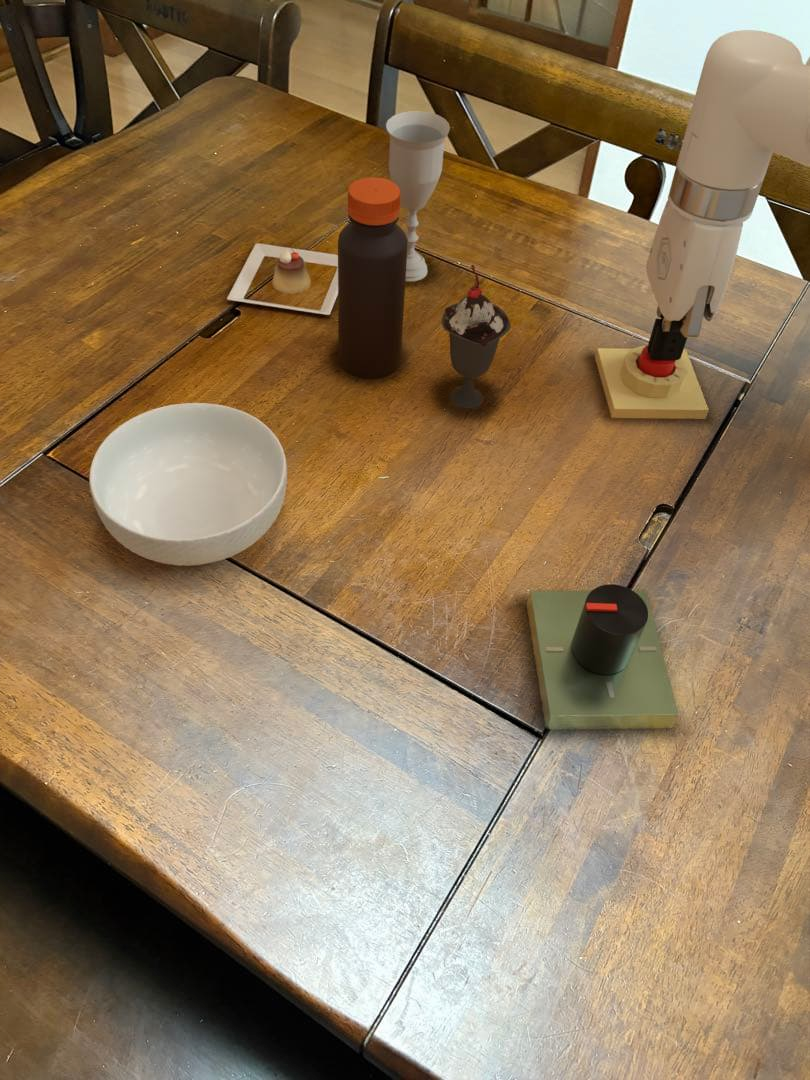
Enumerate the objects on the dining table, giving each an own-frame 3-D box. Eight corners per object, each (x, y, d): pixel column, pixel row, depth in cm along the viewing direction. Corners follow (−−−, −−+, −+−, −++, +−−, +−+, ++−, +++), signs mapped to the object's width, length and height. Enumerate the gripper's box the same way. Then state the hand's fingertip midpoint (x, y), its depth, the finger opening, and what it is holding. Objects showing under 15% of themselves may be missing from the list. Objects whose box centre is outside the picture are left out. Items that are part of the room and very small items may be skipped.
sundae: (456, 371, 99) (470, 248, 88) (508, 397, 97) (530, 274, 86) (421, 403, 96) (432, 279, 84) (475, 430, 93) (493, 307, 82)
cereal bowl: (297, 583, 79) (294, 530, 74) (100, 603, 77) (81, 549, 72) (282, 448, 90) (278, 393, 85) (108, 461, 88) (93, 405, 82)
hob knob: (626, 625, 75) (643, 582, 71) (635, 675, 72) (654, 634, 68) (568, 623, 75) (582, 580, 71) (575, 673, 72) (590, 631, 68)
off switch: (681, 361, 102) (690, 336, 100) (704, 422, 96) (714, 396, 93) (593, 360, 102) (600, 334, 99) (610, 421, 95) (618, 395, 93)
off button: (667, 357, 98) (672, 344, 96) (675, 379, 96) (680, 366, 94) (634, 356, 98) (638, 343, 96) (641, 378, 95) (645, 365, 94)
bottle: (380, 390, 97) (387, 217, 81) (326, 368, 98) (323, 195, 83) (411, 356, 100) (424, 185, 85) (359, 335, 102) (361, 164, 87)
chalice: (426, 296, 108) (438, 148, 94) (372, 283, 109) (376, 134, 95) (444, 264, 112) (458, 118, 99) (392, 251, 114) (399, 106, 100)
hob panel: (638, 607, 80) (646, 589, 78) (670, 731, 72) (679, 714, 70) (525, 607, 79) (530, 589, 77) (544, 732, 71) (550, 715, 69)
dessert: (352, 265, 111) (352, 229, 108) (329, 323, 104) (329, 286, 100) (256, 250, 112) (253, 215, 109) (227, 307, 104) (223, 270, 101)
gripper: (654, 148, 86) (613, 312, 100) (693, 234, 76) (642, 402, 90) (732, 149, 86) (681, 312, 100) (781, 235, 77) (717, 402, 90)
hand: (663, 355), depth 95 cm, fingers closed
